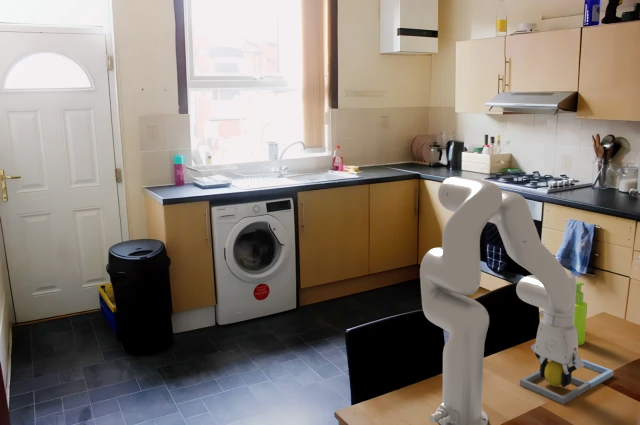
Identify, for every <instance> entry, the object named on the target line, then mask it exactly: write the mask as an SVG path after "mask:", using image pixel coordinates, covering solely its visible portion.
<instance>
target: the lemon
mask: <svg viewBox="0 0 640 425" xmlns="http://www.w3.org/2000/svg"><path fill="white" fill-rule="evenodd" d="M563 372H564V369H563V365H562V364H560V363H557V362H555V361H552V360H550V361H548V363H547V365H546V367H545V380H546V382H547V383H548V384H549V385H551V386H552V387H554V388H556V387H560V386H561V381H562V373H563Z"/></svg>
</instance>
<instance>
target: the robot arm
mask: <svg viewBox="0 0 640 425" xmlns="http://www.w3.org/2000/svg"><path fill="white" fill-rule="evenodd" d="M437 197H438V200H439V202H440V204H441V206H442V207H443V208H444V209H446V210H448V211H451V212H453V213H452V215H451V216H450V217H449V219H448V220H447V222H446V223H445V226H444V228H443V231H442V235H441V236H442V237H441V238H442V239H441V242H442V243H441V247H440V246H439V247H434V248H431V249H429V250H427V252H426V253H425V255H424V256H423V257H422V260H421V263H420V268H419V279H420V294H421V305H422V311H423V314H424V317H425V318H426V319H427V320H428V321H429V322H431V323H432V324H434V325H435V326H437V327H439V328H441V329H443V330H444V331H446V332H448V333H449V337H448V339H447V340H446V343H445V344H444V346H443V351H442V390H441V392H442V393H441V394H442V395H441V396H442V399H441V403H439V406H438V407H437V408H436V411H435V412H434V413H432V414H430V415H429V418H428V419H429V421H430V423H431V424H436V423H438V424H440V425H488V422H489V418H488V417H489V416H488V414H487V413H486V411H485V410H484V409H483V383H484V382H483V380H484V352H485V343H486V342H485V341H486V337H487V332H488V328H489V325H490V315H489V313H488V311H487V309H486V307H484V305H482V304H481V303H480V302H478V301H477V300H475V299H473V298H470V297H468V296H471V295H473V294H475V293H476V292H477V291H478V289H479V288H480V285H481V278H482V276H481V274H482V272H481V271H482V270H481V269H482V268H481V247H480V246H481V245H480V244H481V242H480V241H481V235H482V232H483V229H484V228H485V226H486V225H487V223H492V224H494V225H495V226H496V228H497V230H498V232H499V235H500V237H501V240H502V243H503V246H504V249H505V251H506V254H507V255H508V257H510V258H511V260H512V261H514V262H515V263H517V265H519V266H521V267H523V268H524V270H525V269H526V271H528V272H529V273H530V275H526V276H524V277H522V278H521V279H520V280H519V281H518V282H517V284H516V289H515V291H516V294H517V296H518V298H519V299H520V300H522V301H523V302H525V303H527V304H529V305H532V306H535V307H537V308H541V309H540V311H539V314H540V315H543V318H542V319H540V321H539V324H538V327H537V332H536V339H535V342H534V343H533V344H532V345H531V346H530V349H531V350H532V352H533V353H534V355H535V357H536V358H537V359H538V361H537V362H538V364H539V365H540V366H539V367H540V368H539V370H540V373H541V374H540V378H541V379H544V378H545V367H546V365H547V363H548V362H549V360H550V361H555V362H557V363H560V364H562V365H563V369H564V372H563V373H562V381H561V385H560V386H561V387H562V388H566V387H568V386H569V385H571V384H572V383H571V376H573V374H572V373H573V372H575V371H576V370H578V369H580V368H582V367H584V363H583V361H582V360H581V359H582V358H581V356H580V355H579V353H578V352H579V348H578V347H579V345H578V338H577V330H576V326H574V313H575V299H576V282H577V278H576V277H575V276H574V275H573V274H571V273H568V272H567V271H566V269H565V267H564V266H563V265H562V264H561V262H560V261H559V260H558V259H557V258H556V257H555V256H554V254H553V253H552V252H551V251H550V250H549V249H548V248H547V247H546V246H545V245H544V244H543V243H542V241H541V238H540V236H539V233H538V229H537V227H536V225H535V222H534V218H533V215H532V213H531V209H530V207H529V204H528V202H527V200H526V198H525V197H524V196H523V195H521V194H519V193H517V192H513V191H507V190H502V189H501V187H500V186H499V185H498V184H495V183H493V182H491V181H488V180H484V179H478V178H469V177H462V176H451V177H448V178H446V179H444V180H443V181H442V182H441V183H440V185H439V187H438V192H437ZM572 361H575V363H574V364H573V362H572Z"/></svg>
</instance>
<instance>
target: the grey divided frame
mask: <svg viewBox="0 0 640 425" xmlns="http://www.w3.org/2000/svg"><path fill="white" fill-rule="evenodd" d="M581 360H582V361H583V363H584V366H583V367H584V368H587V369H589V370H592V371H595V372H596V373H597V372H598V373H600V374H599V375H597V376H595V377H593V378H592V379H590V380H588V381H586V380H583V379H581V378H578V377H576V376H573V375H571V383H570V384H573V385H576V386H578V387H576V388H574V389H573V390H571V391H568V392H567V393H565V394H563V395H562V394H560V393H559V394H558V393H556V392H554V391H551V390H550V389H548V388H545V387H543V386H540V385H538V384H536V383H533V382H535V381H536V380H538V379H540V378H541V377H540V374H541V373H540V369H538V370H537V371H534V372H532V373H530V374H529V375H526V376H525V377H523V378H520V379H519V385H520V386H521V387H524V388H525V389H528V390H530V391H532V392H535V393H537V394H539V395H541V396H544V397H546V398H548V399H551V400H553V401H555V402H557V403H559V404H561V405H565V404H567V403H568V402H570V401H572V400H573V398H574V399H576V398H577V397H579V396H580V395H579V394H581V393H582V394H584V393H585V391H586V390H587V391H589V390H590V388H591V389H593V388H594V387H596V386H597V384H598V385H599V383H600V384H601V383H603V382H604V381H606V380H608V379H610V378H611V377H613V376H614V370H613V369H611V368H607V367H605V366H602V365H599V364H596V363H594V362H592V361H589V360H586V359H583V358H581ZM573 363H574V364H576V363H575V361H572V364H573ZM595 385H596V386H595ZM593 386H594V387H593ZM592 387H593V388H592ZM588 389H589V390H588ZM587 391H586V392H587ZM583 392H584V393H583ZM582 394H581V395H582ZM578 395H579V396H578ZM576 396H577V397H576ZM571 399H572V400H571ZM566 402H567V403H566Z"/></svg>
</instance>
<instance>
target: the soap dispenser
mask: <svg viewBox="0 0 640 425" xmlns="http://www.w3.org/2000/svg"><path fill="white" fill-rule="evenodd" d="M584 285H585V283H584V282H582V281H576V299H575V313H574V326H576V330H577V338H578V346H581V345H584V344H585V340H586V328H587V327H586V325H587V314H588V313H587V311H588V303H587V302H586V301H584V292H583V291H581V290H582V286H584Z"/></svg>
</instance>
